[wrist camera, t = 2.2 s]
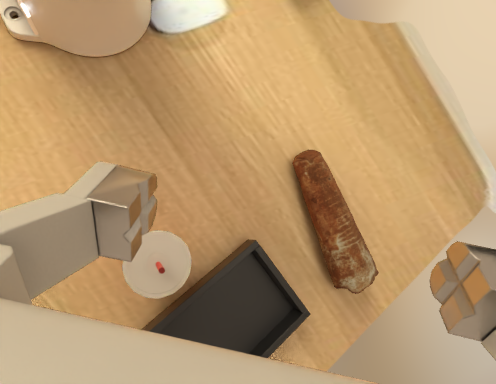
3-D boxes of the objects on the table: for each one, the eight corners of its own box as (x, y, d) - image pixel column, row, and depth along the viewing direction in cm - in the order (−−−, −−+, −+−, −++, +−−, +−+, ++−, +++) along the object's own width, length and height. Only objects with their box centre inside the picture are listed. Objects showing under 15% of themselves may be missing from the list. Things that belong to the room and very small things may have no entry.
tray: (137, 332, 37) (137, 341, 34) (248, 239, 42) (256, 240, 39) (199, 408, 38) (204, 422, 35) (299, 308, 43) (310, 314, 40)
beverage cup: (140, 293, 37) (141, 328, 24) (116, 245, 37) (104, 254, 24) (188, 266, 39) (214, 285, 26) (166, 221, 39) (180, 216, 26)
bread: (327, 291, 45) (352, 299, 40) (281, 159, 45) (300, 150, 40) (363, 273, 47) (391, 278, 42) (319, 147, 47) (342, 136, 42)
